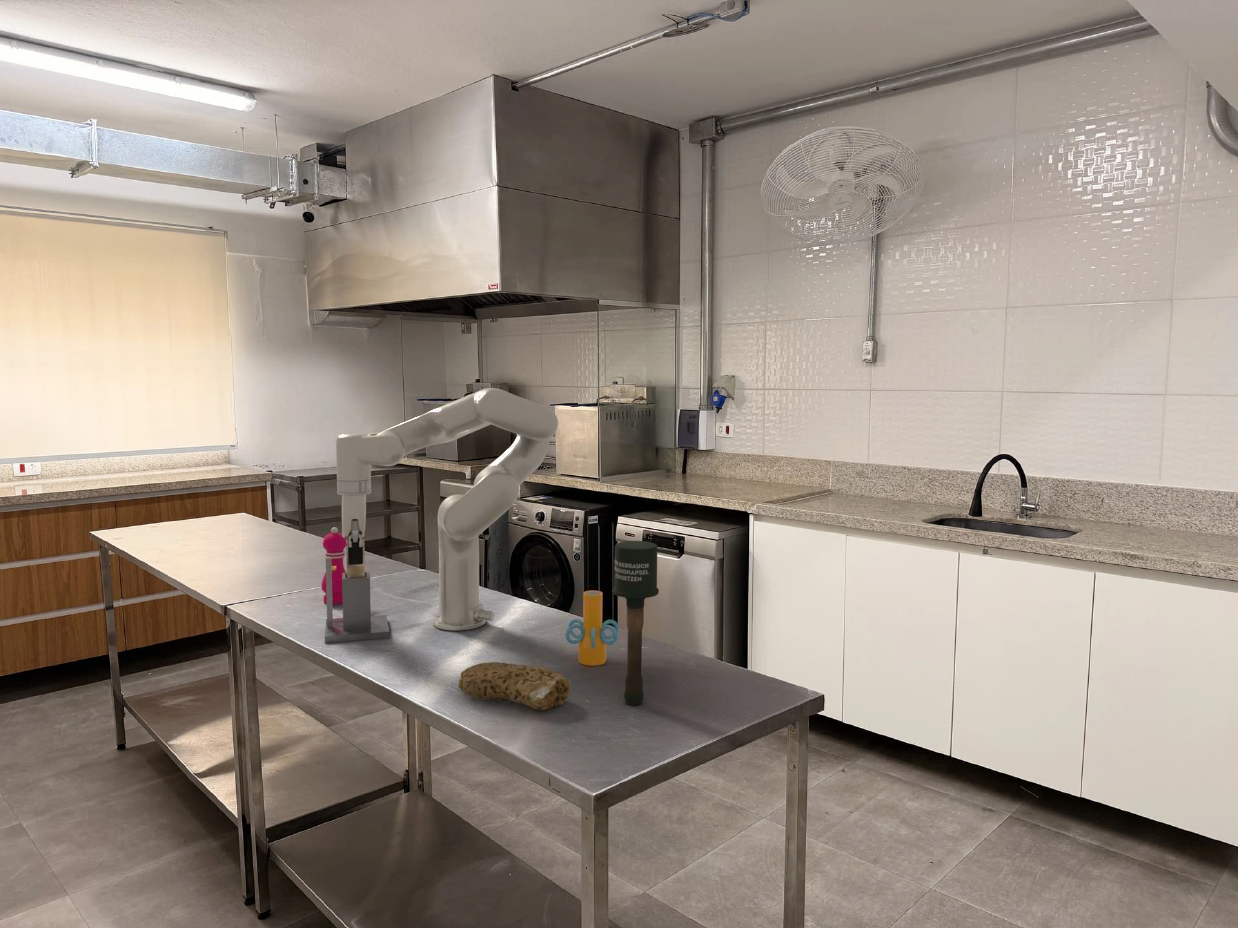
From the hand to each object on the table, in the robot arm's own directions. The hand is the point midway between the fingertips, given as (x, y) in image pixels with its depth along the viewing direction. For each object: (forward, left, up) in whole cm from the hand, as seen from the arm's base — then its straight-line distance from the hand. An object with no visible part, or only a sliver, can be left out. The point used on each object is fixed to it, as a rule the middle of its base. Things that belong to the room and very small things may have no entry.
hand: (355, 559), depth 193 cm
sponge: (-51, +27, -18) cm, 60 cm away
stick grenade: (-73, +22, -17) cm, 78 cm away
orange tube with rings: (-59, +3, -17) cm, 62 cm away
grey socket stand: (0, 0, -17) cm, 17 cm away
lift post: (0, 0, -16) cm, 16 cm away
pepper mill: (+20, -21, -17) cm, 34 cm away
